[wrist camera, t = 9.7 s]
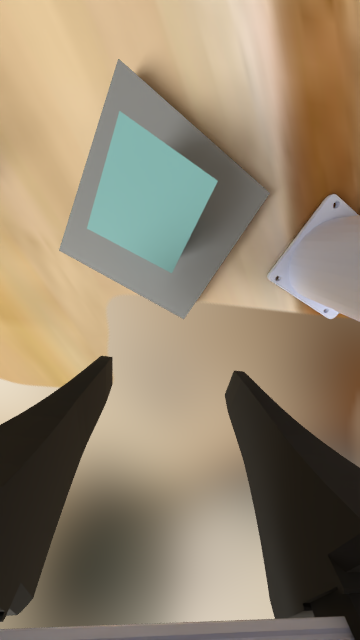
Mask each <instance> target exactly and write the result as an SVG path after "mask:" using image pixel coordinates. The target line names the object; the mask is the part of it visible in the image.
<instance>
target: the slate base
mask: <svg viewBox="0 0 360 640" xmlns="http://www.w3.org/2000/svg"><path fill="white" fill-rule="evenodd" d="M119 111H121V112H122V113H123V114H125V115H126V116H128V117H129V118H130V119H132V120H133V121H135V122H136V123H137V124H139V125H140V126H142V127H143V128H144V129H146V130H147V131H149V132H150V133H151V134H153V135H154V136H156V137H157V138H158V139H160V140H161V141H163V142H164V143H165V144H167V145H168V146H170V147H171V148H172V149H174V150H175V151H177V152H178V153H179V154H181V155H182V156H184V157H185V158H186V159H188V160H189V161H191V162H192V163H194V164H195V165H196V166H198V167H199V168H201V169H202V170H203V171H205V172H206V173H208V174H209V175H210V176H212V177H213V178H215V179H216V180H217V181H218V182H217V184H216V186H215V188H214V190H213V192H212V194H211V196H210V198H209V200H208V202H207V204H206V206H205V208H204V210H203V212H202V214H201V216H200V218H199V220H198V222H197V224H196V226H195V228H194V230H193V232H192V234H191V236H190V238H189V240H188V242H187V244H186V246H185V248H184V250H183V252H182V254H181V256H180V258H179V260H178V262H177V264H176V266H175V268H174V270H173V272H172V273H170V272H168V271H166V270H164V269H163V268H161V267H159V266H157V265H155V264H153V263H151V262H149V261H147V260H146V259H144V258H142V257H140V256H138V255H136V254H134V253H132V252H130V251H129V250H127V249H125V248H123V247H121V246H119V245H117V244H115V243H113V242H111V241H110V240H108V239H106V238H104V237H102V236H100V235H98V234H96V233H94V232H93V231H91V230H89V229H87V226H88V222H89V219H90V215H91V212H92V208H93V204H94V201H95V197H96V194H97V190H98V186H99V183H100V179H101V176H102V172H103V168H104V165H105V161H106V158H107V154H108V150H109V147H110V143H111V140H112V136H113V133H114V129H115V125H116V122H117V118H118V115H119ZM269 194H270V193H269V192H268V191H267V190H266V189H265V188H264V187H262V186H261V185H260V184H259V183H258V182H257V181H256V180H255V179H253V178H252V177H251V176H250V175H249V174H248V173H247V172H246V171H244V170H243V169H242V168H241V167H240V166H239V165H238V164H237V163H235V162H234V161H233V160H232V159H231V158H230V157H229V156H228V155H226V154H225V153H224V152H223V151H222V150H221V149H220V148H219V147H217V146H216V145H215V144H214V143H213V142H212V141H211V140H210V139H208V138H207V137H206V136H205V135H204V134H203V133H202V132H200V131H199V130H198V129H197V128H196V127H195V126H194V125H193V124H191V123H190V122H189V121H188V120H187V119H186V118H185V117H184V116H182V115H181V114H180V113H179V112H178V111H177V110H176V109H175V108H173V107H172V106H171V105H170V104H169V103H168V102H167V101H166V100H164V99H163V98H162V97H161V96H160V95H159V94H158V93H157V92H155V91H154V90H153V89H152V88H151V87H150V86H149V85H148V84H146V83H145V82H144V81H143V80H142V79H141V78H140V77H139V76H137V75H136V74H135V73H134V72H133V71H132V70H131V69H130V68H128V67H127V66H126V65H125V64H124V63H123V62H122V61H121V60H119V59H118V62H117V65H116V68H115V71H114V74H113V78H112V81H111V84H110V87H109V91H108V94H107V97H106V100H105V104H104V107H103V110H102V113H101V116H100V120H99V123H98V126H97V129H96V133H95V136H94V139H93V142H92V146H91V149H90V152H89V155H88V159H87V162H86V165H85V168H84V171H83V175H82V178H81V181H80V184H79V188H78V191H77V194H76V197H75V201H74V204H73V207H72V210H71V213H70V217H69V220H68V223H67V226H66V230H65V233H64V236H63V239H62V243H61V246H60V249H59V251H61V252H63V253H65V254H66V255H68V256H70V257H72V258H74V259H76V260H77V261H79V262H81V263H83V264H85V265H86V266H88V267H90V268H92V269H94V270H95V271H97V272H99V273H101V274H103V275H105V276H106V277H108V278H110V279H112V280H114V281H115V282H117V283H119V284H121V285H123V286H124V287H126V288H128V289H130V290H132V291H134V292H135V293H137V294H139V295H141V296H143V297H144V298H146V299H148V300H150V301H152V302H154V303H155V304H158V305H159V306H161V307H163V308H164V309H166V310H168V311H170V312H172V313H173V314H175V315H177V316H179V317H181V318H183V319H184V318H185V317H186V315H187V314H188V312H189V311H190V310H191V308H192V307H193V305H194V304H195V302H196V301H197V299H198V298H199V296H200V295H201V294H202V292H203V291H204V289H205V288H206V286H207V285H208V283H209V282H210V280H211V279H212V277H213V276H214V275H215V273H216V272H217V270H218V269H219V267H220V266H221V264H222V263H223V261H224V260H225V258H226V257H227V255H228V254H229V253H230V251H231V250H232V248H233V247H234V245H235V244H236V242H237V241H238V239H239V238H240V236H241V235H242V234H243V232H244V231H245V229H246V228H247V226H248V225H249V223H250V222H251V220H252V219H253V217H254V216H255V214H256V213H257V212H258V210H259V209H260V207H261V206H262V204H263V203H264V201H265V200H266V198H267V197H268V195H269Z"/></svg>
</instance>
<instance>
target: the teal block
mask: <svg viewBox="0 0 360 640" xmlns="http://www.w3.org/2000/svg"><path fill="white" fill-rule="evenodd" d="M217 182H218V181H217V180H216V179H215V178H213V177H212V176H210V175H209V174H208V173H206V172H205V171H203V170H202V169H201V168H199V167H198V166H196V165H195V164H194V163H192V162H191V161H189V160H188V159H186V158H185V157H184V156H182V155H181V154H179V153H178V152H177V151H175V150H174V149H172V148H171V147H170V146H168V145H167V144H165V143H164V142H163V141H161V140H160V139H158V138H157V137H156V136H154V135H153V134H151V133H150V132H149V131H147V130H146V129H144V128H143V127H142V126H140V125H139V124H137V123H136V122H135V121H133V120H132V119H130V118H129V117H128V116H126V115H125V114H123V113H122V112H121V111H119V115H118V118H117V122H116V125H115V129H114V133H113V136H112V140H111V143H110V147H109V150H108V154H107V158H106V161H105V165H104V168H103V172H102V176H101V179H100V183H99V186H98V190H97V194H96V197H95V201H94V204H93V208H92V212H91V215H90V219H89V222H88V226H87V229H89V230H91V231H93V232H94V233H96V234H98V235H100V236H102V237H104V238H106V239H108V240H110V241H111V242H113V243H115V244H117V245H119V246H121V247H123V248H125V249H127V250H129V251H130V252H132V253H134V254H136V255H138V256H140V257H142V258H144V259H146V260H147V261H149V262H151V263H153V264H155V265H157V266H159V267H161V268H163V269H164V270H166V271H168V272H170V273H172V272H173V270H174V268H175V266H176V264H177V262H178V260H179V258H180V256H181V254H182V252H183V250H184V248H185V246H186V244H187V242H188V240H189V238H190V236H191V234H192V232H193V230H194V228H195V226H196V224H197V222H198V220H199V218H200V216H201V214H202V212H203V210H204V208H205V206H206V204H207V202H208V200H209V198H210V196H211V194H212V192H213V190H214V188H215V186H216V184H217Z"/></svg>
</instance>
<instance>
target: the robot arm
mask: <svg viewBox="0 0 360 640" xmlns="http://www.w3.org/2000/svg"><path fill="white" fill-rule="evenodd" d="M334 203H336V206H335V208H333V204H334ZM277 276H279V278H278V280H275V278H276V277H277ZM267 277H268V279H269V280H270V281H271V282H273V283H275V284H276V285H278V286H279V287H281V288H282V289H284V290H285V291H287V292H288V293H290V294H291V295H293V296H294V297H296V298H297V299H299V300H301V301H302V302H304V303H305V304H307V305H308V306H310V307H311V308H313V309H314V310H316V311H317V312H319V313H320V314H322V315H323V316H325V317H327V318H329V319H332V318H334V317H336V316H337V315H338V314H339V313H341V314H344V315H346V316H348V317H350V318H353V319H355V320H357V321H360V215H358V214H357V213H356V212H355V211H354V210H353V209H352V208H350V207H349V206H348V205H347V204H346V203H345V202H344V201H343V200H342V199H341V198H340V197H338V196H337V195H336V194H332V195H329V196H327V197H326V198H325V199H324V200H323V202H322V203H321V204H320V206H319V207H318V208H317V210H316V211H315V212H314V214H313V215H312V216H311V218H310V219H309V220H308V222H307V223H306V224H305V226H304V227H303V228H302V230H301V231H300V232H299V233H298V235H297V236H296V237H295V239H294V240H293V241H292V243H291V244H290V245H289V247H288V248H287V249H286V251H285V252H284V253H283V255H282V256H281V257H280V259H279V260H278V261H277V263H276V264H275V265H274V267H273V268H272V269H271V270H270V272H269V273H268V276H267ZM325 309H326V310H325ZM324 310H325V311H324ZM111 386H112V357H107V356H101V357H99V358H98V359H97V360H95V361H94V362H93V363H92V364H91V365H89V366H88V367H87V368H86V369H84V370H83V371H82V372H81V373H79V374H78V375H77V376H75V377H74V378H73V379H72V380H70V381H69V382H68V383H66V384H65V385H64V386H62V387H61V388H59V389H58V390H57V391H55V392H54V393H52V394H51V395H50V396H48V397H46V398H45V399H43V400H42V401H40V402H39V403H37V404H36V405H34V406H33V407H31V408H29V409H28V410H26V411H24V412H23V413H21V414H19V415H18V416H16V417H14V418H12V419H10V420H9V421H7V422H5V423H3V424H1V425H0V622H3V620H4V619H5V617H6V616H7V615H18V614H19V613H20V612H21V611H22V610H23V609H24V608H25V607H26V606H27V605H28V604H29V602H30V601H31V600H32V599H33V597H34V593H35V590H36V587H37V584H38V581H39V578H40V575H41V572H42V569H43V566H44V562H45V560H46V556H47V553H48V550H49V547H50V544H51V541H52V538H53V535H54V532H55V530H56V527H57V524H58V521H59V518H60V515H61V512H62V509H63V506H64V503H65V501H66V498H67V495H68V492H69V489H70V486H71V484H72V481H73V478H74V475H75V473H76V470H77V467H78V465H79V462H80V459H81V457H82V454H83V452H84V449H85V447H86V445H87V442H88V440H89V438H90V436H91V434H92V432H93V430H94V427H95V425H96V423H97V421H98V419H99V416H100V415H101V412H102V410H103V408H104V406H105V404H106V401H107V398H108V395H109V393H110V389H111ZM225 398H226V404H227V409H228V413H229V416H230V420H231V423H232V426H233V429H234V432H235V435H236V438H237V441H238V444H239V448H240V451H241V453H242V457H243V460H244V464H245V468H246V472H247V477H248V481H249V485H250V490H251V495H252V500H253V504H254V509H255V514H256V519H257V524H258V530H259V535H260V540H261V546H262V552H263V558H264V564H265V570H266V577H267V582H268V590H269V597H270V601H271V605H272V609H273V613H274V617H275V619H262V620H235V621H209V622H183V623H157V624H156V623H155V624H129V625H102V626H76V627H48V628H22V629H0V640H360V468H359V467H358V466H356V465H355V464H353V463H352V462H350V461H349V460H347V459H346V458H344V457H343V456H341V455H340V454H339V453H337V452H336V451H334V450H333V449H332V448H330V447H329V446H327V445H326V444H325V443H323V442H322V441H321V440H319V439H318V438H317V437H315V436H314V435H313V434H311V433H310V432H309V431H308V430H307V429H305V428H304V427H303V426H301V425H300V424H299V423H298V422H297V421H296V420H294V419H293V418H292V417H291V416H290V415H289V414H288V413H286V412H285V411H284V410H283V409H282V408H281V407H280V406H279V405H278V404H277V403H275V402H274V401H273V400H272V399H271V398H270V397H269V396H268V395H267V394H266V393H265V392H264V391H263V390H262V389H261V388H260V387H259V386H258V385H257V384H256V383H255V382H254V381H253V380H252V379H251V378H250V377H249V376H248V375H247V374H246V373H245V372H242V371H234V372H233V375H232V377H231V380H230V383H229V386H228V388H227V391H226V393H225Z"/></svg>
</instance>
